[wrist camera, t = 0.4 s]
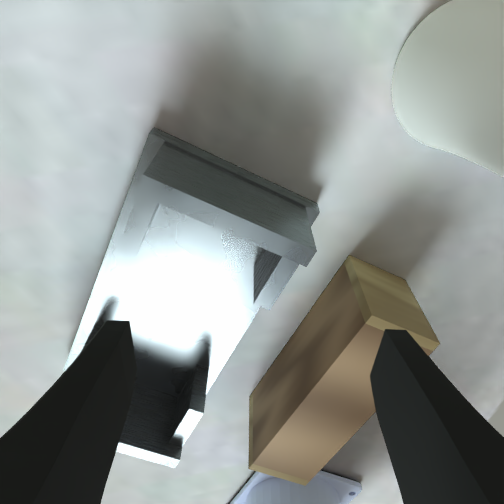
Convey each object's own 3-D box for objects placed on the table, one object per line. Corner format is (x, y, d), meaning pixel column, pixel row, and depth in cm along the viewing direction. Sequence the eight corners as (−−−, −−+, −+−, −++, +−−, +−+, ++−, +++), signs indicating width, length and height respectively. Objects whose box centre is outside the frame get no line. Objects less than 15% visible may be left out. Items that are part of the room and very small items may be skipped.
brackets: (196, 399, 28) (185, 472, 23) (69, 358, 26) (32, 428, 22) (317, 203, 21) (333, 256, 16) (154, 127, 19) (124, 163, 15)
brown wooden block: (297, 412, 28) (305, 485, 24) (249, 396, 28) (248, 468, 23) (405, 279, 23) (440, 343, 19) (348, 254, 22) (371, 315, 18)
